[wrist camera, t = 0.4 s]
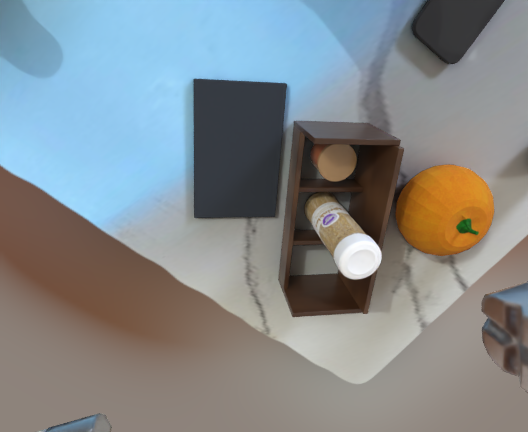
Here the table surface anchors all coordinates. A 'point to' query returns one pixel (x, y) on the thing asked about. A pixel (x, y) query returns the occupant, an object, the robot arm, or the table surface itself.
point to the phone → (453, 25)
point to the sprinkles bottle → (342, 236)
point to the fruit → (445, 210)
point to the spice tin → (333, 160)
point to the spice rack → (361, 210)
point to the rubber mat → (237, 147)
